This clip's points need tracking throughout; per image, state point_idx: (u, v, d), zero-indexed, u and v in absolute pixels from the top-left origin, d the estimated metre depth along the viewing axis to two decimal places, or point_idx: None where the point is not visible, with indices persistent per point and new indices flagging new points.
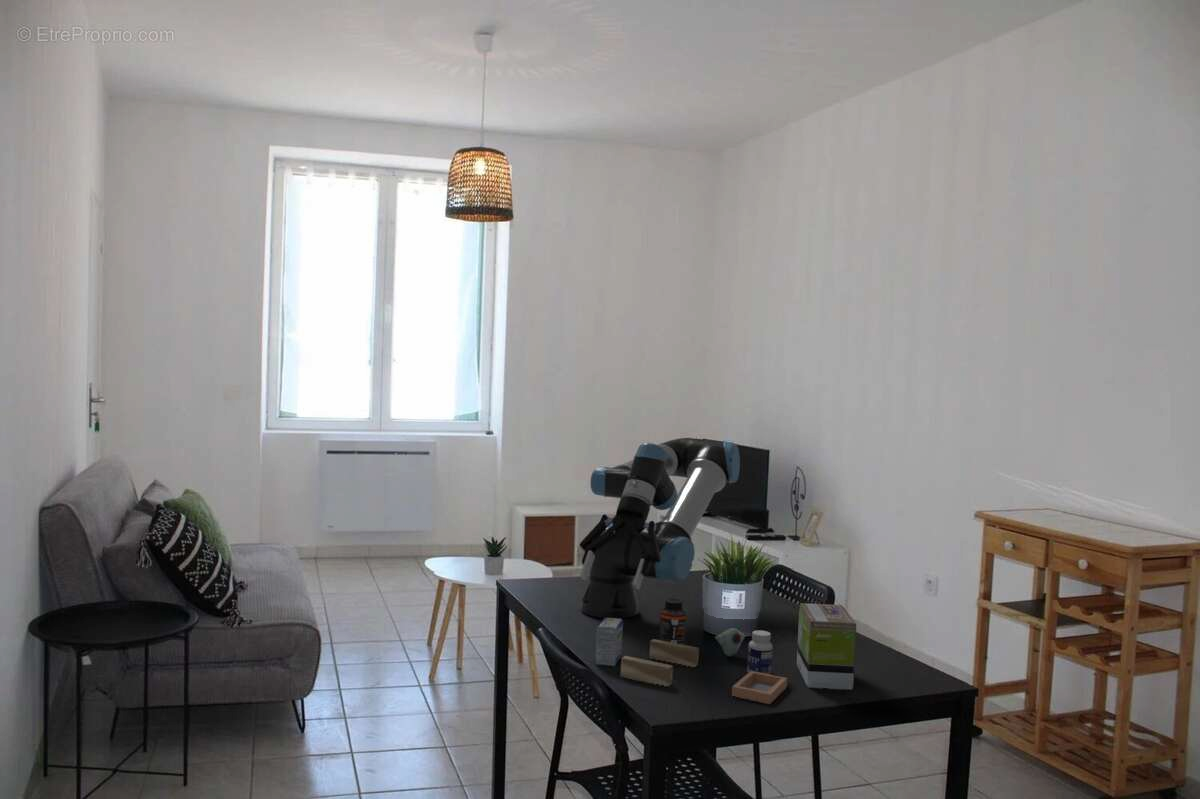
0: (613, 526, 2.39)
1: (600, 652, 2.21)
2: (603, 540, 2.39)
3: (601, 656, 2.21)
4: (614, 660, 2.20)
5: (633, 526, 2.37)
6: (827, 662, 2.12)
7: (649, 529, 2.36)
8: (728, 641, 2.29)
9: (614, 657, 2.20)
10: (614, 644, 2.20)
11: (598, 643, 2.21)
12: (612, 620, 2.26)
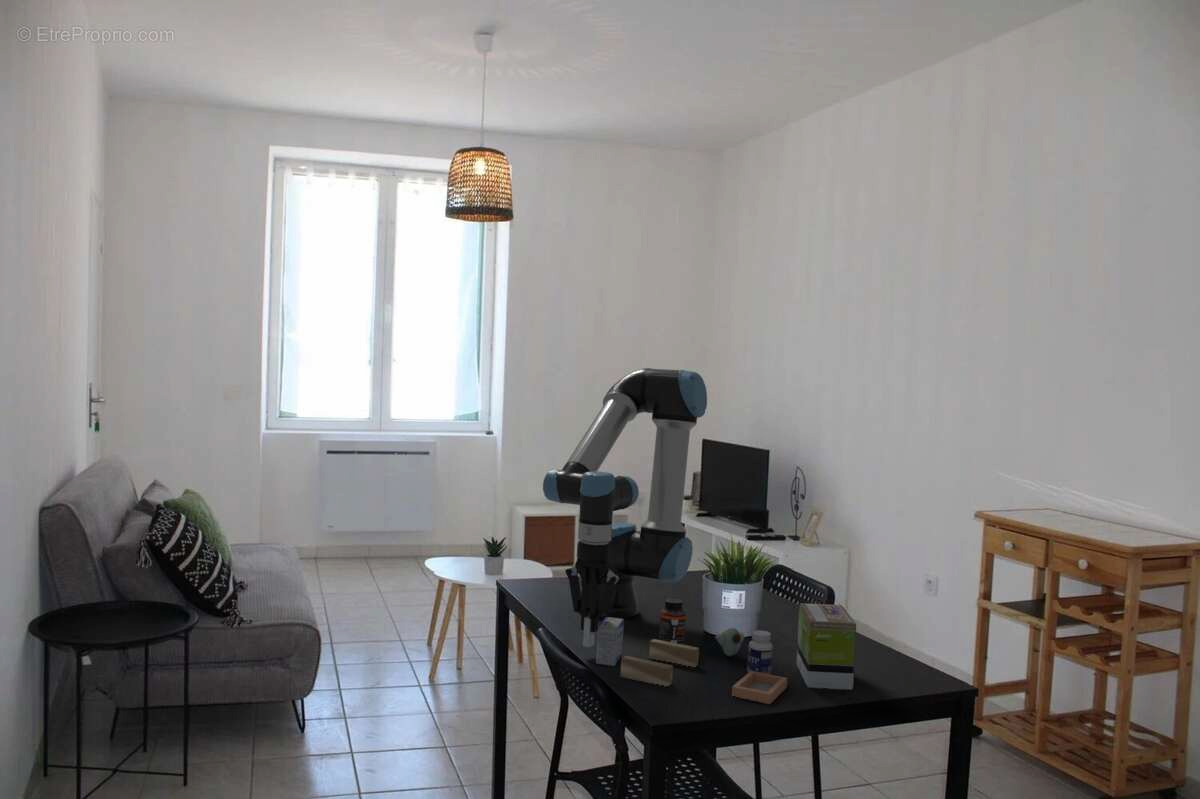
0: (582, 579, 2.25)
1: (600, 651, 2.21)
2: (587, 596, 2.26)
3: (601, 655, 2.21)
4: (614, 660, 2.20)
5: (594, 577, 2.23)
6: (827, 662, 2.12)
7: (607, 584, 2.23)
8: (729, 641, 2.29)
9: (614, 657, 2.20)
10: (615, 644, 2.20)
11: (599, 642, 2.21)
12: (613, 620, 2.26)
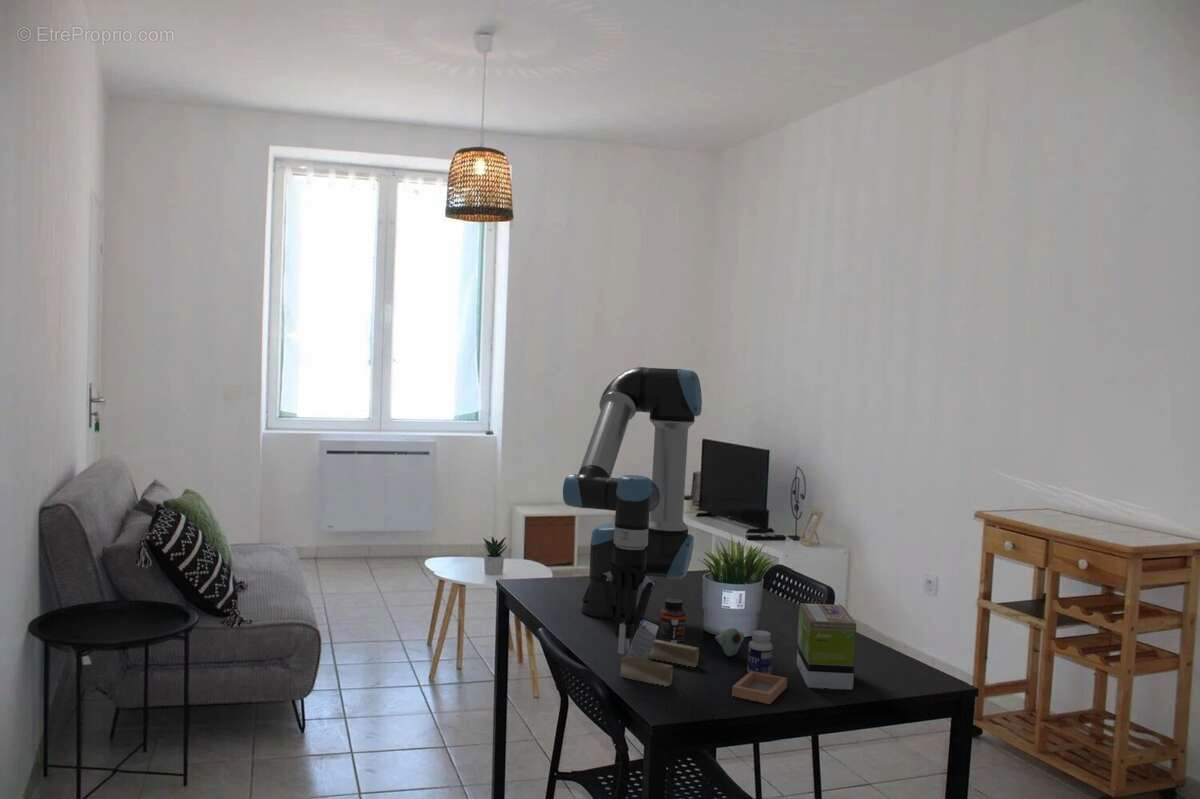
0: (618, 584, 2.21)
1: (632, 653, 2.18)
2: (622, 601, 2.22)
3: None
4: None
5: (630, 583, 2.19)
6: (827, 662, 2.12)
7: (644, 590, 2.18)
8: (728, 641, 2.29)
9: None
10: (648, 650, 2.17)
11: (633, 644, 2.18)
12: (650, 625, 2.23)
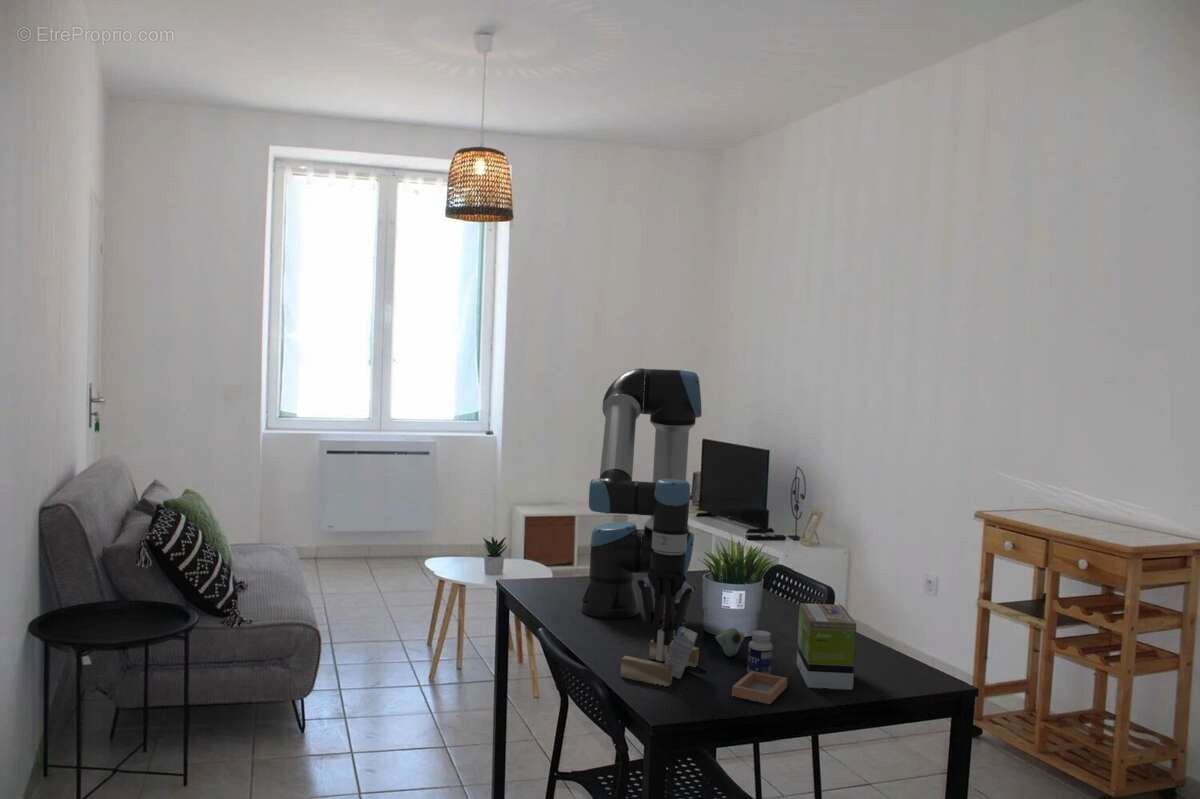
0: (656, 590, 2.17)
1: (670, 661, 2.14)
2: (660, 608, 2.17)
3: None
4: (681, 673, 2.13)
5: (669, 589, 2.15)
6: (827, 662, 2.12)
7: (683, 596, 2.14)
8: (729, 641, 2.29)
9: (682, 670, 2.13)
10: (686, 658, 2.13)
11: (671, 652, 2.14)
12: (688, 632, 2.18)
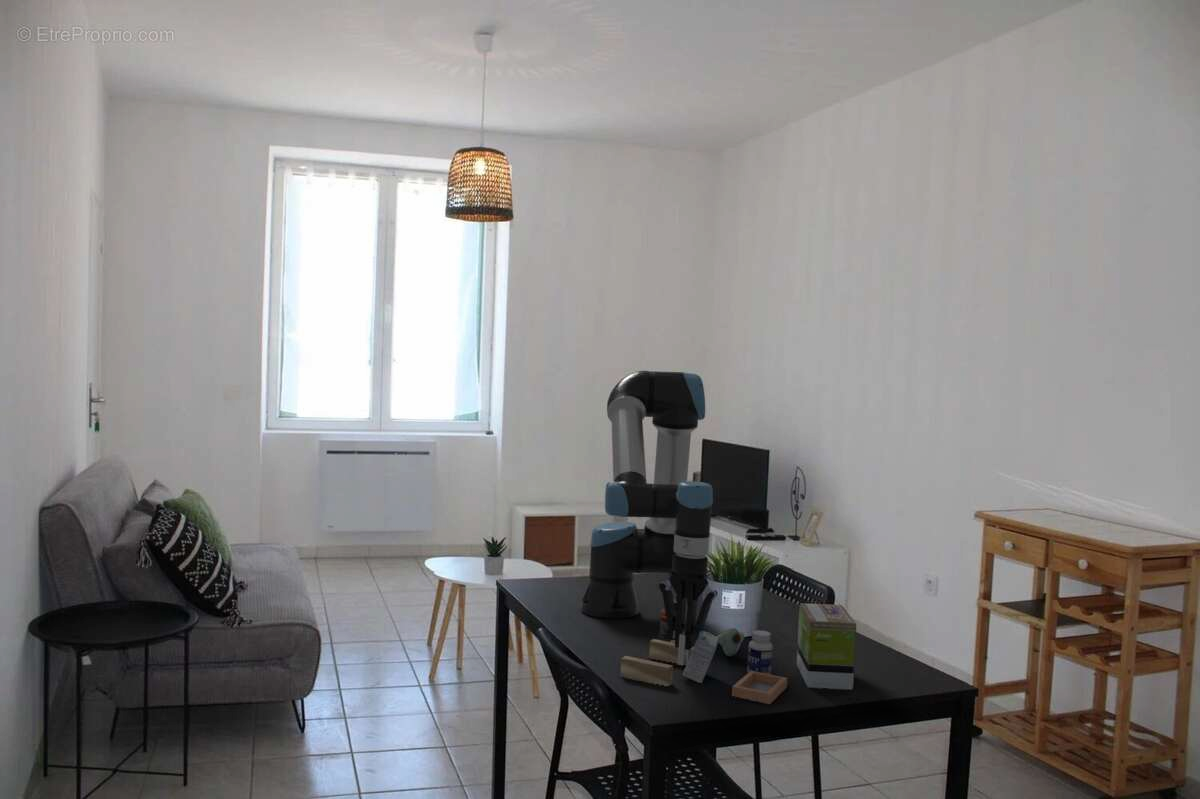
0: (678, 594, 2.14)
1: (691, 665, 2.12)
2: (682, 611, 2.15)
3: (691, 669, 2.12)
4: (702, 678, 2.11)
5: (691, 592, 2.13)
6: (827, 662, 2.12)
7: (705, 600, 2.12)
8: (728, 641, 2.29)
9: (703, 675, 2.11)
10: (708, 662, 2.11)
11: (692, 656, 2.12)
12: (710, 636, 2.16)
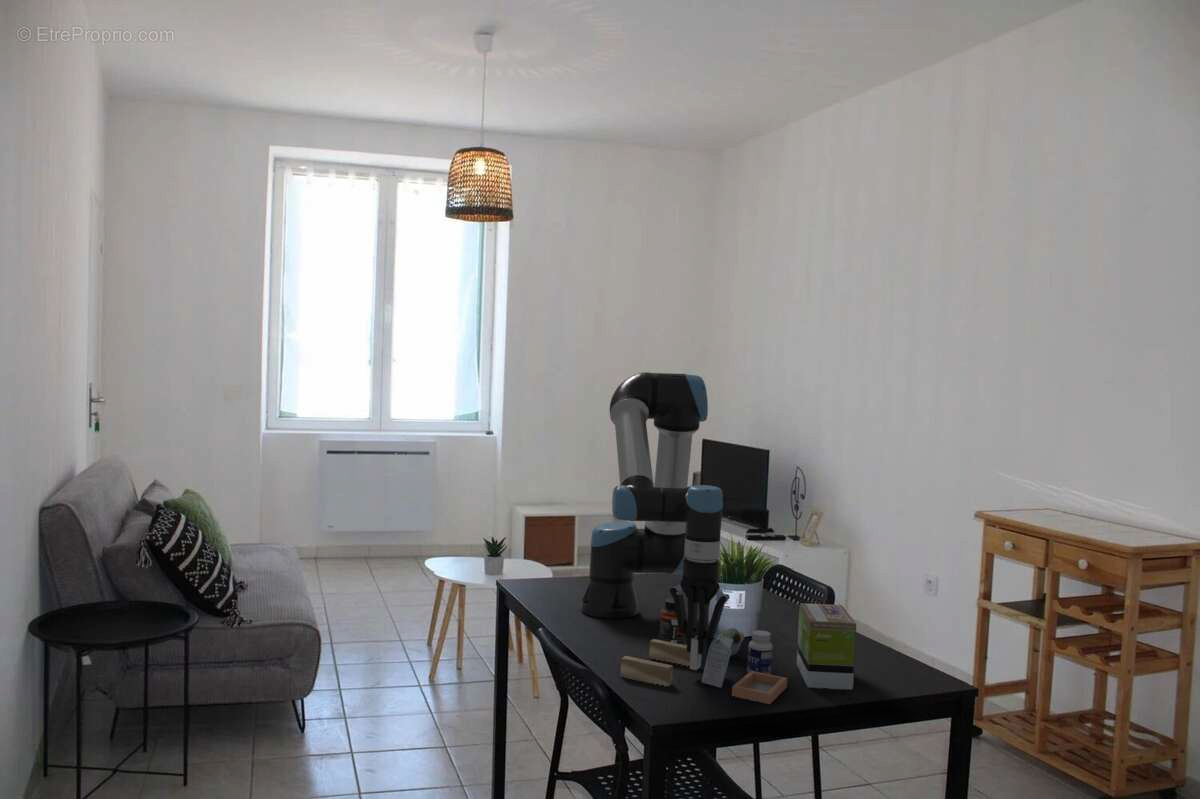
0: (689, 598, 2.14)
1: (708, 671, 2.10)
2: (694, 616, 2.15)
3: (709, 674, 2.10)
4: (721, 682, 2.09)
5: (703, 597, 2.12)
6: (827, 662, 2.12)
7: (717, 604, 2.11)
8: None
9: (722, 679, 2.09)
10: (725, 665, 2.09)
11: (708, 661, 2.10)
12: (723, 639, 2.15)
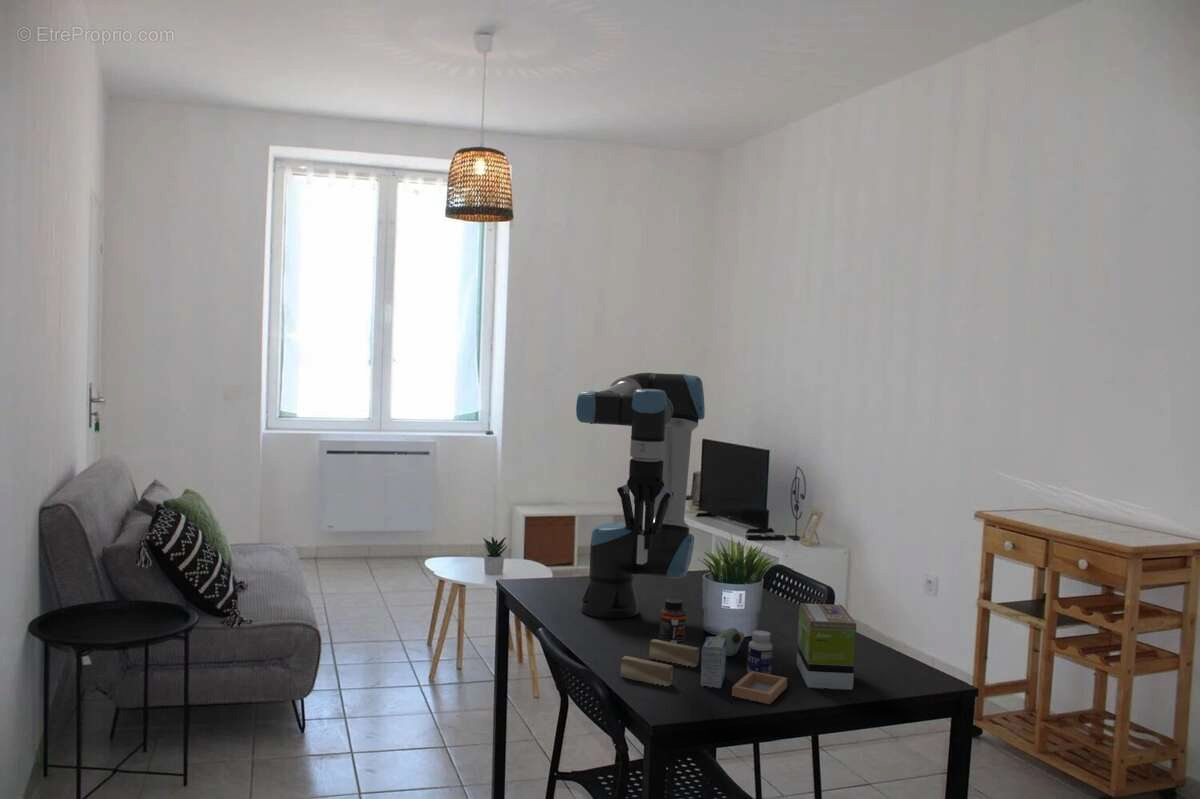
0: (635, 496, 2.24)
1: (705, 673, 2.10)
2: (640, 513, 2.25)
3: (706, 677, 2.10)
4: (720, 682, 2.09)
5: (648, 494, 2.23)
6: (827, 662, 2.12)
7: (662, 501, 2.22)
8: (728, 641, 2.29)
9: (720, 679, 2.09)
10: (720, 665, 2.09)
11: (703, 664, 2.10)
12: (715, 639, 2.15)
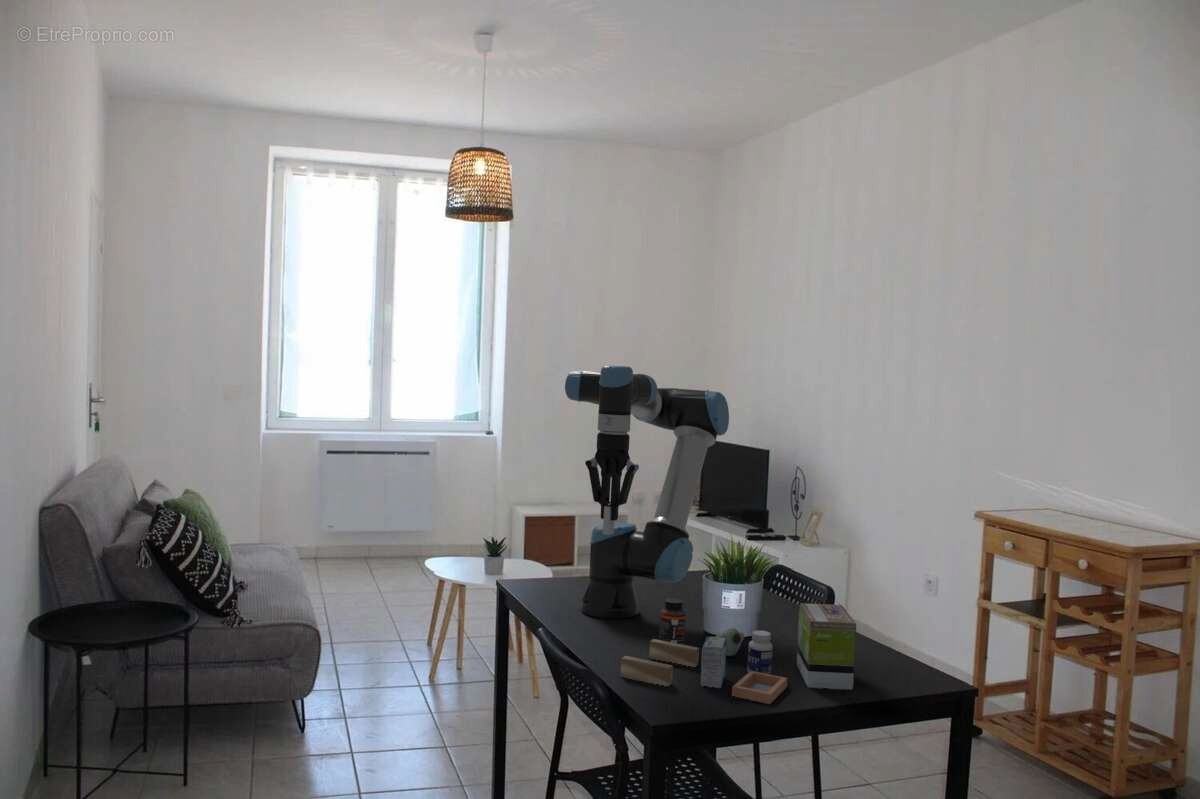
0: (602, 469, 2.32)
1: (705, 673, 2.10)
2: (606, 485, 2.33)
3: (706, 677, 2.10)
4: (720, 682, 2.09)
5: (614, 466, 2.31)
6: (827, 662, 2.12)
7: (627, 473, 2.30)
8: (728, 641, 2.29)
9: (720, 679, 2.09)
10: (720, 665, 2.09)
11: (703, 664, 2.10)
12: (715, 639, 2.15)
